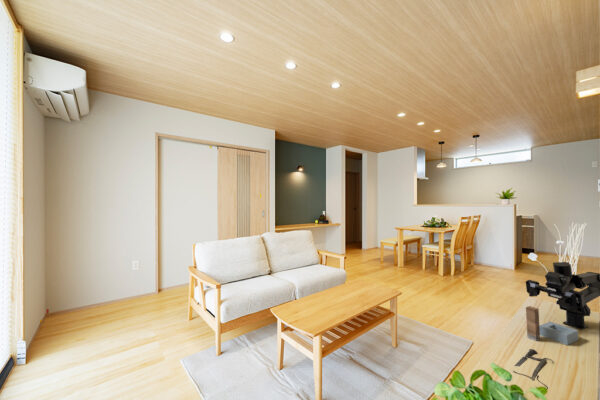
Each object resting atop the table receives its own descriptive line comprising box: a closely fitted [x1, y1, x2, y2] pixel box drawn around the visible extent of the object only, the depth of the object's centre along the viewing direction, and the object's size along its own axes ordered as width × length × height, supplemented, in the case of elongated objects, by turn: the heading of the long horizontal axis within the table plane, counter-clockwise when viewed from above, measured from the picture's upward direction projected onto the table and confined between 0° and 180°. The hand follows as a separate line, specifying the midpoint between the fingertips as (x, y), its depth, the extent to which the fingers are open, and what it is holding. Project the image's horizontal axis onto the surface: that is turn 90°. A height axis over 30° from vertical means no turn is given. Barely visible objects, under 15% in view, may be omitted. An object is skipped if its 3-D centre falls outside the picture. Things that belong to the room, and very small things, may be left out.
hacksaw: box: [512, 348, 554, 390], centre depth 89 cm, size 24×10×2 cm, turn 122°
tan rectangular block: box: [525, 305, 541, 342], centre depth 108 cm, size 3×3×13 cm
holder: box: [539, 321, 579, 346], centre depth 108 cm, size 9×9×4 cm
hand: (542, 299), depth 108 cm, fingers open, 9 cm apart
